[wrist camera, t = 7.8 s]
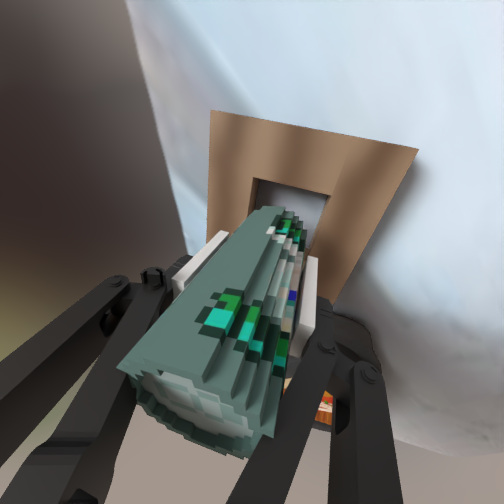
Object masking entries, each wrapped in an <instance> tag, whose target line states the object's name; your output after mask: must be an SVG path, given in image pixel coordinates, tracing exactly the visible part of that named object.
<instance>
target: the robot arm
mask: <svg viewBox="0 0 504 504" xmlns="http://www.w3.org/2000/svg"><path fill="white" fill-rule="evenodd" d="M228 238H229V232H226V231H222V230H220V231H219V232H218V233H217V234H216V235H215V236H214V237H213V238H212V239H211V240H210V241H209V242H208V243H207V244H206V245H205V246H204V247H203V248H202V249H201V250H200V251H199V252H198V253H197V254H196V255H195V256H194V257H193V256H190V255H185V256H183V257H181V258H180V259H178V260H177V261H176V263H174V264H173V265H172V266H171V267H170V268H168V270H166V271H164V270H163V269H162V268H159V267H151V268H147V269H145V270H143V271H142V272H141V273H140V274H141V279H142V283H132V282H129V279H128V277H126V276H124V275H114V276H111V277H109V278H107V279H105V280H104V281H103V282H102V283H100V284H99V285H98V286H96V287H95V288H94V289H93V290H91V291H90V292H89V293H87V294H86V295H85V296H84V297H82V298H81V299H80V300H79V301H77V302H76V303H75V304H74V305H72V306H71V307H70V308H68V309H67V310H66V311H64V312H63V313H62V314H61V315H59V316H58V317H57V318H56V319H54V320H53V321H52V322H50V323H49V324H48V325H47V326H45V327H44V328H43V329H42V330H40V331H39V332H38V333H37V334H35V335H34V336H33V337H31V338H30V339H29V340H27V341H26V342H25V343H24V344H23V345H21V346H20V347H19V348H17V349H16V350H15V351H14V352H12V353H11V354H10V355H8V356H7V357H6V358H5V359H3V360H2V361H1V362H0V467H1V466H2V465H3V464H4V463H5V462H6V461H7V459H8V458H9V457H10V456H11V455H12V454H13V453H14V451H15V450H16V449H17V448H18V447H19V446H20V445H21V444H22V442H23V441H24V440H25V439H26V438H27V437H28V436H29V434H30V433H31V432H32V431H33V430H34V429H35V428H36V426H37V425H38V424H39V423H40V422H41V421H42V419H44V417H45V416H46V415H47V414H48V413H49V412H50V411H51V410H52V408H53V407H54V406H55V405H56V404H57V403H58V401H59V400H60V399H61V398H62V397H63V396H64V395H65V394H66V392H67V391H68V390H69V389H70V388H71V387H72V386H73V385H74V383H75V382H76V381H77V380H78V379H79V378H80V377H81V376H82V374H83V373H84V372H85V371H86V370H87V369H88V367H89V366H90V365H91V364H92V363H93V362H94V361H95V360H96V358H97V357H98V356H99V355H100V356H99V357H98V359H97V361H96V362H95V364H94V366H93V367H92V369H91V371H90V373H89V374H88V376H87V378H86V379H85V381H84V382H83V384H82V386H81V388H80V389H79V391H78V392H77V394H76V396H75V397H74V399H73V401H72V402H71V404H70V406H69V408H68V409H67V411H66V413H65V414H64V416H63V417H62V419H61V421H60V422H59V424H58V426H57V427H56V429H55V431H54V432H53V434H52V435H51V437H50V438H49V439H48V440H47V441H46V442H44V443H42V444H41V445H39V446H38V447H36V448H35V449H34V450H33V451H32V452H31V453H30V455H29V456H28V457H27V458H26V460H25V461H24V462H23V464H22V465H21V467H20V468H19V470H18V472H17V473H16V475H15V476H14V478H13V480H12V481H11V483H10V484H9V486H8V487H7V489H6V490H5V492H4V494H3V495H2V497H1V498H0V504H104V503H105V500H106V497H107V494H108V491H109V488H110V485H111V482H112V478H113V474H114V466H115V461H116V458H117V455H118V452H119V449H120V447H121V444H122V441H123V439H124V436H125V433H126V431H127V428H128V425H129V423H130V420H131V417H132V415H133V412H134V409H135V406H136V404H137V399H136V394H137V389H136V388H133V387H132V385H131V383H130V380H129V377H128V374H127V373H126V372H124V371H122V370H120V369H117V368H116V367H117V366H118V364H119V363H120V362H121V361H122V360H123V359H124V358H125V356H126V355H127V354H128V353H129V352H130V351H131V350H132V348H133V347H134V346H135V345H136V344H137V343H138V341H139V340H140V339H141V338H142V337H143V336H144V335H145V333H146V332H147V331H148V330H149V329H150V328H151V327H152V325H153V324H154V323H155V322H156V321H157V320H158V319H159V317H160V316H161V315H162V314H163V313H164V312H165V311H166V309H167V308H168V307H169V306H170V305H171V304H172V303H173V301H174V300H175V299H176V298H177V297H178V296H179V295H180V293H181V292H182V291H183V290H184V289H185V288H186V287H187V285H188V284H189V283H190V282H191V281H192V280H193V279H194V277H195V276H196V275H197V274H198V273H199V272H200V271H201V269H202V268H203V267H204V266H205V265H206V264H207V263H208V261H209V260H210V259H211V258H212V257H213V256H214V255H215V253H216V252H217V251H218V250H219V249H220V248H221V247H222V245H223V244H224V243H225V242H226V241H227V240H228ZM317 270H318V258H315V257H312V256H308V257H307V260H306V262H305V265H304V268H303V270H302V273H301V280H300V286H299V293H298V299H297V306H296V312H295V319H294V325H293V332H292V338H291V345H290V351H289V355H292V356H295V357H297V358H300V356H301V362H300V364H299V365H298V367H297V369H296V371H295V373H294V375H293V377H292V379H291V381H290V382H289V384H288V386H287V388H286V390H285V392H284V394H283V396H282V398H281V400H280V402H279V408H278V414H277V420H276V426H275V432H274V438H271V437H269V436H267V435H265V434H263V435H262V436H261V438H260V440H259V442H258V444H257V445H256V447H255V449H254V451H253V453H252V455H251V456H250V458H249V460H248V462H247V464H246V466H245V468H244V470H243V472H242V474H241V476H240V478H239V479H238V481H237V483H236V485H235V487H234V489H233V491H232V493H231V494H230V496H229V498H228V500H227V502H226V504H284V502H285V500H286V497H287V494H288V491H289V488H290V486H291V483H292V480H293V478H294V475H295V472H296V469H297V467H298V464H299V461H300V458H301V455H302V453H303V450H304V447H305V445H306V442H307V439H308V436H309V434H310V431H311V428H312V425H313V423H314V420H315V417H316V414H317V412H318V409H319V406H320V403H321V401H322V398H323V395H324V392H325V391H327V392H328V393H329V394H330V395H332V396H333V403H332V423H331V443H330V465H329V484H328V504H403V498H402V491H401V485H400V479H399V472H398V466H397V459H396V453H395V447H394V440H393V434H392V427H391V421H390V414H389V408H388V401H387V395H386V388H385V382H384V379H383V376H382V375H381V373H380V372H379V370H378V369H377V368H376V367H374V366H373V365H372V364H370V363H368V362H365V361H358V362H357V363H355V362H353V361H352V360H350V359H349V358H347V357H346V356H345V355H343V354H342V353H341V352H340V351H339V350H338V347H337V345H336V343H335V342H334V330H333V314H332V313H333V309H332V305H331V303H330V301H329V299H326V298H323V297H320V296H317V295H316V292H317ZM301 354H302V355H301Z"/></svg>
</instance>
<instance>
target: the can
mask: <svg viewBox="0 0 504 504" xmlns="http://www.w3.org/2000/svg"><path fill="white" fill-rule="evenodd" d="M306 236H307V230H303V221H299V216H294V212H289V211H285V207H277V206H262V208H261V209H260V210H254V211H253V212H252V213H251V214H250V215H249V216H248V217H247V218H246V219H245V220H244V221H243V222H242V224H241V225H240V226H239V227H238V228H237V229H236V230H235V232H234V233H233V234H232V235H231V236H230V237H229V238H228V240H227V241H226V242H225V243H224V244H223V245H222V247H221V248H220V249H219V250H218V251H217V252H216V253H215V255H214V256H213V257H212V258H211V259H210V260H209V261H208V263H207V264H206V265H205V266H204V267H203V268H202V269H201V271H200V272H199V273H198V274H197V275H196V276H195V277H194V279H193V280H192V281H191V282H190V283H189V284H188V285H187V287H186V288H185V289H184V290H183V291H182V292H181V293H180V295H179V296H178V297H177V298H176V299H175V300H174V301H173V303H172V304H171V305H170V306H169V307H168V308H167V309H166V311H165V312H164V313H163V314H162V315H161V316H160V317H159V319H158V320H157V321H156V322H155V323H154V324H153V325H152V327H151V328H150V329H149V330H148V331H147V332H146V333H145V335H144V336H143V337H142V338H141V339H140V340H139V341H138V343H137V344H136V345H135V346H134V347H133V348H132V350H131V351H130V352H129V353H128V354H127V355H126V356H125V358H124V359H123V360H122V361H121V362H120V363H119V364H118V366H117V367H116V368H117V369H120V370H122V371H124V372H126V373H127V374H128V377H129V380H130V383H131V385H132V387H133V388H136V389H137V394H136V399H137V405H140V406H142V407H143V409H144V411H145V412H146V413H147V415H149V416H151V417H154V418H155V419H156V420H157V422H159V423H161V424H164V425H165V426H166V427H167V429H169V430H171V431H174V432H176V433H179V434H181V435H183V436H184V438H185V439H186V440H189V441H191V442H193V443H196V444H198V445H201V446H203V447H206V448H208V449H211V450H213V451H216V452H218V453H221V454H223V455H225V456H226V454H227V453H228V454H230V455H233V456H235V457H238V458H240V459H244V457H246V458H248V459H249V458H250V456H251V455H252V453H253V451H254V449H255V447H256V445H257V444H258V442H259V440H260V438H261V436H262V435H263V434H265V435H267V436H269V437H271V438H274V432H275V426H276V420H277V414H278V408H279V402H280V400H281V398H282V396H283V390H284V384H285V377H286V371H287V364H288V358H289V351H290V345H291V338H292V332H293V325H294V319H295V312H296V306H297V299H298V293H299V286H300V280H301V273H302V267H303V260H304V254H305V246H306Z"/></svg>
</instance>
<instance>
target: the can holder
mask: <svg viewBox="0 0 504 504" xmlns="http://www.w3.org/2000/svg"><path fill="white" fill-rule="evenodd" d="M418 150H419V149H416V148H412V147H407V146H402V145H397V144H392V143H386V142H381V141H376V140H370V139H365V138H360V137H354V136H349V135H344V134H338V133H333V132H328V131H322V130H317V129H312V128H307V127H301V126H296V125H291V124H285V123H280V122H275V121H269V120H264V119H259V118H253V117H248V116H243V115H237V114H232V113H227V112H221V111H215V110H211V116H210V146H209V177H208V207H207V237H206V244H207V243H208V242H209V241H210V240H211V239H212V238H213V237H214V236H215V235H216V234H217V233H218V232H219V231H220V230H222V231H226V232H229V237H230V236H231V235H232V234H233V233H234V232H235V230H236V229H237V228H238V227H239V226H240V225H241V224H242V222H243V221H244V220H245V219H246V218H247V217H248V216H249V215H250V214H251V213H252V212H253V211H254V208H255V202H256V196H257V190H258V185H259V179H264V180H268V181H272V182H276V183H281V184H285V185H289V186H293V187H297V188H302V189H306V190H310V191H314V192H318V193H322V194H327V195H328V197H327V200H326V203H325V206H324V208H323V211H322V214H321V216H320V219H319V222H318V225H317V227H316V230H315V233H314V235H313V238H312V241H311V244H310V246H309V249H306V248H305V254H304V260H303V267H302V270H303V268H304V265H305V262H306V260H307V257H308V256H312V257H315V258H318V270H317V292H316V295H317V296H320V297H323V298H326V299H329V301H330V303H331V304H334V303H335V301H336V299H337V297H338V295H339V294H340V292H341V290H342V288H343V286H344V285H345V283H346V281H347V279H348V277H349V276H350V274H351V272H352V270H353V268H354V266H355V265H356V263H357V261H358V259H359V257H360V256H361V254H362V252H363V250H364V248H365V247H366V245H367V243H368V241H369V239H370V237H371V236H372V234H373V232H374V230H375V228H376V227H377V225H378V223H379V221H380V219H381V218H382V216H383V214H384V212H385V210H386V208H387V207H388V205H389V203H390V201H391V199H392V198H393V196H394V194H395V192H396V190H397V189H398V187H399V185H400V183H401V181H402V179H403V178H404V176H405V174H406V172H407V170H408V169H409V167H410V165H411V163H412V161H413V160H414V158H415V156H416V154H417V152H418Z"/></svg>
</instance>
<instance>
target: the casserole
mask: <svg viewBox="0 0 504 504" xmlns="http://www.w3.org/2000/svg"><path fill="white" fill-rule="evenodd" d="M332 314H333V313H332ZM333 330H334V342H335V343H336V345H337V347H338V350H339V351H340V352H341V353H342V354H343V355H345V356H346V357H347V358H349V359H350V360H352V361H353V362H355V363H357V362H358V361H365V362H368V363H370V364H372V365H373V366H374V367H376V368H377V369H378V370H379V372H380V373H381V374H382V371H381V365H380V363H379V361H378V359H377V357H376V355H375V353H374V351H373V346H372V340H371V335H370V332H369V331H368V330H367V329H366V328H365V327H364V326H363V325H361V324H359V323H358V322H356V321H354V320H351V319H349V318H346V317H344V316H341V315H337V314H333ZM301 355H302V354H301ZM300 362H301V356H300V358H297V357H295V356H292V355H289V358H288V364H287V371H286V377H285V384H284V390H283V394H284V392H285V390H286V388H287V386H288V384H289V382H290V381H291V379H292V377H293V375H294V373H295V371H296V369H297V367H298V365H299V364H300ZM332 403H333V396H332V395H330V394H329V393H328V392H327V391H325V392H324V395H323V398H322V401H321V403H320V406H319V409H318V412H317V414H316V417H315V420H314V423H313V425H312V428H315V429H318V430H322V431H327V432H331V423H332Z"/></svg>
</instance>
